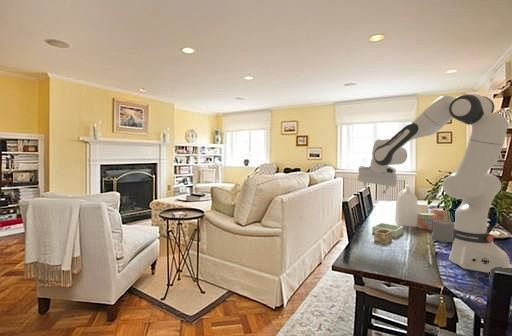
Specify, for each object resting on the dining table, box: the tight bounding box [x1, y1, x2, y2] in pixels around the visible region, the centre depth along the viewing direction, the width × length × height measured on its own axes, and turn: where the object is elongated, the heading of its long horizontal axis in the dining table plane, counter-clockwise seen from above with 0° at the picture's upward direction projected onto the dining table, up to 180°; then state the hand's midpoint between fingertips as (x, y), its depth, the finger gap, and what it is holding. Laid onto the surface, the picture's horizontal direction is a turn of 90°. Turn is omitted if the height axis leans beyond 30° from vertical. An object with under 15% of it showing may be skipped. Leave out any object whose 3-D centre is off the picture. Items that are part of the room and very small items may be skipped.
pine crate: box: [373, 229, 393, 244], centre depth 152 cm, size 6×9×5 cm, turn 136°
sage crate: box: [371, 222, 404, 239], centre depth 166 cm, size 13×13×4 cm
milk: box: [394, 184, 419, 228], centre depth 188 cm, size 12×12×26 cm
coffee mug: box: [432, 220, 455, 243], centre depth 153 cm, size 13×10×10 cm
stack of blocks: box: [417, 207, 451, 231], centre depth 177 cm, size 21×6×12 cm, turn 86°
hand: (375, 191), depth 159 cm, fingers open, 8 cm apart
